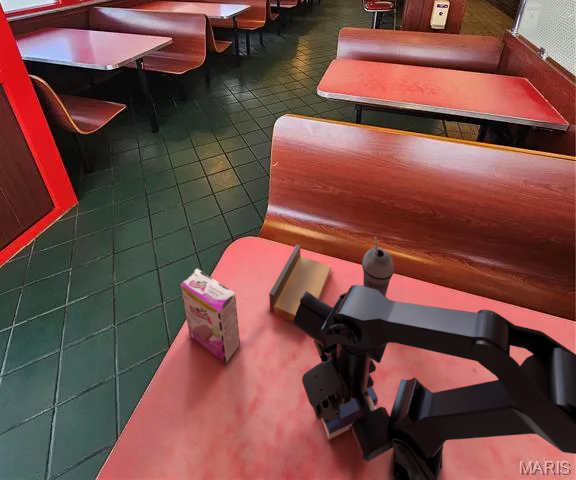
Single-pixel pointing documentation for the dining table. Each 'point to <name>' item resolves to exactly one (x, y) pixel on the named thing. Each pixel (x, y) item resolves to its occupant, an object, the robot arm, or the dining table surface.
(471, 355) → the robot arm
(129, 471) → the dining table surface
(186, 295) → the candy bar box
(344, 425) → the navy stepped block
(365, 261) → the beverage cup
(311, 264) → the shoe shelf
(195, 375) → the dining table surface
